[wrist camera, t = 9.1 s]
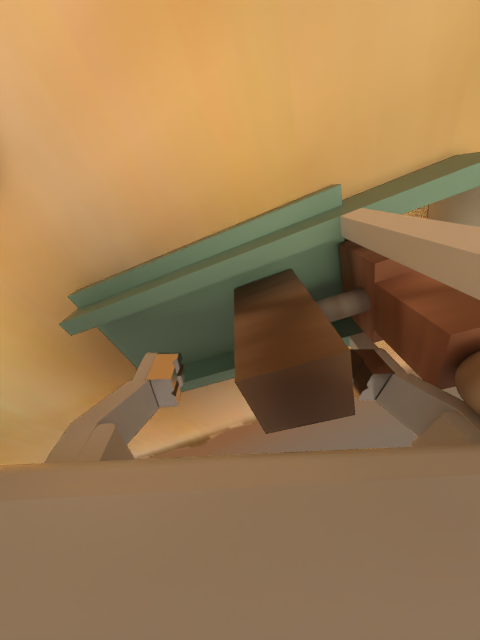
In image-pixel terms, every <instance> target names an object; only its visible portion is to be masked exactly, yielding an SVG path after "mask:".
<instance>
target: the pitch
mask: <svg viewBox="0 0 480 640" xmlns="http://www.w3.org/2000/svg"><path fill="white" fill-rule="evenodd" d="M426 205H429V211H428V217H427V219H426V218H420V217H414V216H408V215H402V214H405V213H407V212H410V211H413V210H415V209H418V208H421V207H424V206H426ZM344 238H346V239H348V240H350V241H352V242H354V243H356V244H359V245H361V246H363V247H365V248H367V249H369V250H372V251H374V252H376V253H378V254H380V255H383V256H385V257H387V258H389V259H391V260H393V261H396V262H398V263H400V264H402V265H404V266H407V267H409V268H411V269H413V270H415V271H417V272H420V273H422V274H424V275H426V276H428V277H431V278H433V279H435V280H437V281H439V282H441V283H444V284H446V285H448V286H450V287H452V288H454V289H457V290H459V291H461V292H463V293H465V294H468V295H470V296H472V297H474V298H476V299H478V300H480V152H476V153H469V154H462V155H455V156H453V157H450V158H448V159H445V160H443V161H440V162H438V163H435V164H433V165H430V166H428V167H425V168H423V169H420V170H418V171H415V172H413V173H410V174H408V175H405V176H403V177H400V178H397V179H395V180H392V181H390V182H387V183H385V184H382V185H380V186H377V187H375V188H372V189H370V190H367V191H365V192H362V193H360V194H357V195H355V196H352V197H350V198H347V199H345V200H342V194H341V184H339V185H331V186H328V187H326V188H324V189H321V190H319V191H316V192H314V193H312V194H309V195H307V196H304V197H302V198H299V199H297V200H295V201H292V202H290V203H287V204H285V205H283V206H280V207H278V208H275V209H273V210H270V211H268V212H266V213H263V214H261V215H258V216H256V217H254V218H251V219H249V220H246V221H244V222H241V223H239V224H237V225H234V226H232V227H229V228H227V229H225V230H222V231H220V232H217V233H215V234H212V235H210V236H208V237H205V238H203V239H200V240H198V241H196V242H193V243H191V244H188V245H186V246H183V247H181V248H179V249H176V250H174V251H171V252H169V253H167V254H164V255H162V256H159V257H157V258H154V259H152V260H150V261H147V262H145V263H142V264H140V265H138V266H135V267H133V268H130V269H128V270H125V271H123V272H121V273H118V274H116V275H113V276H111V277H109V278H106V279H104V280H101V281H99V282H96V283H94V284H92V285H89V286H87V287H84V288H82V289H80V290H77V291H76V292H74V293H73V294H71V295H70V296H68V298H69V299H70V300H71V301H72V302H73V303H74V304H75V305H76V306H77V307H78V308H79V309H77V310H76V311H75V312H74V313H72V314H71V315H70V316H69V317H67V318H66V319H65V320H64V321H62V322H61V323H60V324H59V325H60V326H61V327H62V328H63V329H64V330H65V331H66V332H67V333H69V334H70V335H71V336H72V335H75V334H78V333H80V332H83V331H86V330H89V329H91V328H94V327H97V328H98V329H99V330H100V331H101V332H102V333H103V334H104V335H105V336H106V337H107V338H108V339H109V340H110V341H111V342H112V343H113V344H114V345H115V346H116V347H117V348H118V349H119V350H120V351H121V352H122V353H123V354H124V355H125V356H126V357H127V358H128V360H129V361H130V362H131V363H132V364H133V365H134V366H135V367H136V368H137V369H138V367H139V365H140V364H141V362H142V360H143V358H144V356H145V354H146V353H148V352H151V353H158V352H180V353H181V355H182V362H181V363H182V364H183V365H184V372H185V375H184V383H183V385H182V386H181V387H180V390H181V392H184V391H187V390H191V389H195V388H198V387H202V386H206V385H209V384H213V383H217V382H220V381H224V380H228V379H231V378H235V345H234V289H236V288H239V287H242V286H245V285H247V284H250V283H253V282H256V281H259V280H262V279H264V278H267V277H270V276H273V275H276V274H278V273H281V272H284V271H287V270H290V269H292V270H293V271H294V273H295V274H296V276H297V277H298V278H299V280H300V281H301V283H302V284H303V285H304V287H305V288H306V289H307V291H308V292H309V294H310V295H311V296H312V298H313V299H314V301H319V300H322V299H325V298H328V297H331V296H334V295H337V294H340V293H343V283H342V271H341V259H340V247H339V244H342V243H345V239H344ZM330 323H331V324H332V326H333V327H334V329H335V330H336V331H337V333H338V334H339V335H340V337H341V338H342V340H343V341H344V342H345V344H346V345H347V347H349V346H350V347H351V349H376V348H378V347H377V346H376V345H375V344H374V343H373V342H372V340H371V339H370V338H369V337H368V336H367V335H366V334H365V333H364V331H363V330H362V329H361V328H360V327H359V326H358V325H357V324H356V323H355V321H354V320H353V319H352V318H351V317H346V318H343V319H340V320H336V321H333V322H330ZM413 433H414V432H413ZM414 434H415V433H414ZM415 436H416V437H418V436H417V435H416V434H415Z"/></svg>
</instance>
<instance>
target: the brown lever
mask: <svg viewBox="0 0 480 640" xmlns="http://www.w3.org/2000/svg"><path fill="white" fill-rule="evenodd" d="M339 247H340V259H341V271H342V283H343V293H340V294H337V295H334V296H331V297H328V298H325V299H322V300H319V301H314V299H313V298H312V296H311V295H310V294H309V292H308V291H307V289H306V288H305V287H304V285H303V284H302V283H301V281H300V280H299V278H298V277H297V276H296V274H295V273H294V271H293V270H292V269H290V270H287V271H284V272H281V273H278V274H276V275H273V276H270V277H267V278H264V279H262V280H259V281H256V282H253V283H250V284H247V285H245V286H242V287H239V288H236V289H234V345H235V383H236V385H237V386H238V388H239V390H240V391H241V393H242V395H243V396H244V398H245V400H246V401H247V403H248V405H249V406H250V408H251V410H252V411H253V413H254V415H255V416H256V418H257V420H258V421H259V423H260V425H261V426H262V428H263V430H264V431H265V433H266V434H268V433H273V432H277V431H282V430H287V429H291V428H296V427H301V426H305V425H310V424H315V423H319V422H324V421H329V420H333V419H338V418H342V417H347V416H352V415H355V406H354V392H353V379H352V365H351V352H350V349H349V348H348V347H347V345H346V344H345V342H344V341H343V340H342V338H341V337H340V335H339V334H338V333H337V331H336V330H335V329H334V327H333V326H332V324H331V323H330V322H333V321H336V320H340V319H343V318H346V317H351V318H352V319H353V320H354V321H355V323H356V324H357V325H358V326H359V327H360V328H361V329H362V330H363V331H364V333H365V334H366V335H367V336H368V337H369V338H370V339H371V340H372V341H373V342H378V341H381V340H384V341H385V342H386V343H387V344H388V345H389V346H390V347H391V348H392V349H393V350H394V351H395V352H396V353H397V354H398V355H399V356H400V357H401V358H402V359H403V360H404V361H405V362H406V363H407V364H408V365H409V366H410V367H411V368H412V369H413V370H414V371H415V372H416V373H417V374H418V375H419V376H420V377H421V378H422V379H423V380H424V381H426V382H428V383H430V384H432V385H434V386H435V387H437V388H439V389H441V390H442V389H446V388H451V387H455V386H456V388H457V390H458V393H459V394H460V396H461V398H462V399H463V400H464V402H465V403H466V404H467V405H468V406H469V407H470V408H471V409H472V410H473V411H475V412H476V413H477V414H479V415H480V300H478V299H476V298H474V297H472V296H470V295H468V294H465V293H463V292H461V291H459V290H457V289H454V288H452V287H450V286H448V285H446V284H444V283H441V282H439V281H437V280H435V279H433V278H431V277H428V276H426V275H424V274H422V273H420V272H417V271H415V270H413V269H411V268H409V267H407V266H404V265H402V264H400V263H398V262H396V261H393V260H391V259H389V258H387V257H385V256H383V255H380V254H378V253H376V252H374V251H372V250H369V249H367V248H365V247H363V246H361V245H359V244H356V243H354V242H352V241H348V242H345V243H342V244H339Z"/></svg>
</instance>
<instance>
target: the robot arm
mask: <svg viewBox="0 0 480 640" xmlns="http://www.w3.org/2000/svg"><path fill="white" fill-rule="evenodd" d="M350 352H351V365H352V379H353V392H354V395H355V397H356V399H357V400H376V402H377V403H378V404H379V405H380V406H382V407H383V408H384V409H386V410H387V411H388V412H389V413H390V414H391V415H393V416H394V417H396V419H398V420H399V421H400V422H401V423H403V424H404V425H405V426H406V427H407V428H409V429H410V430H411V431H412V432H414V433H415V434H416V435H417V436H418V437H417V438H416V439H415V440H414V441H413V442H412V446H413V447H396V448H372V449H350V450H329V451H306V452H284V453H262V454H241V455H219V456H197V457H175V458H154V459H134V456H133V454H132V453H131V451H130V450H129V448H128V446H127V444H128V443H129V442H130V441H131V440H132V439H133V437H134V436H135V435H136V434H137V433H138V432H139V431H140V429H141V428H142V427H143V426H144V425H145V424H146V423H147V421H148V420H149V419H150V418H151V417H152V416H153V414H154V413H155V412H156V411H157V410H158V409H159V408H158V407H173V406H178V404H179V400H180V396H181V390H180V387H181V386H182V385H183V383H184V375H185V372H184V365H183V364H182V363H181V362H182V355H181V353H180V352H158V353H151V352H148V353H146V354H145V356H144V358H143V360H142V362H141V364H140V365H139V367H138V369H137V371H136V373H135V375H134V377H133V379H132V381H127V382H126V383H125V384H123V385H122V386H121V387H119V388H118V389H117V390H115V391H114V392H112V393H111V394H110V395H108V396H107V397H106V398H104V399H103V400H102V401H100V402H99V403H98V404H96V405H95V406H93V407H92V408H91V409H89V410H88V411H87V412H85V413H84V414H83V415H81V416H80V417H79V418H77V419H76V420H74V421H73V422H72V423H70V425H69V426H68V428H67V429H66V431H65V432H64V434H63V435H62V437H61V438H60V440H59V441H58V443H57V444H56V446H55V447H54V449H53V450H52V452H51V453H50V454H49V456H48V457H47V459H46V460H45V462H44V463H43V464H22V465H0V640H480V415H479V414H477V413H476V412H475V411H473V410H472V409H471V408H470V407H469V406H468V405H467V404H466V403H465V402H464V401H462V400H460V399H459V398H457V397H455V396H453V395H451V394H449V393H447V392H445V391H443V390H441V389H439V388H437V387H435V386H434V385H432V384H430V383H428V382H426V381H424V380H422V379H420V378H418V377H416V376H414V375H412V374H407V373H406V371H405V370H404V369H403V368H402V367H401V366H400V365H399V364H398V363H397V362H396V361H395V360H394V359H393V358H392V357H391V356H390V355H389V354H388V353H387V352H386V351H385V350H384V349H381V348H376V349H350Z"/></svg>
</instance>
